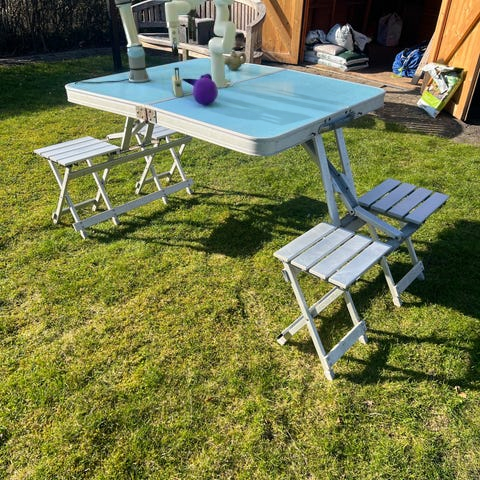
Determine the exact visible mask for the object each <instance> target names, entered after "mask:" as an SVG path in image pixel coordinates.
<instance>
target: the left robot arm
mask: <svg viewBox="0 0 480 480" xmlns="http://www.w3.org/2000/svg"><path fill="white" fill-rule="evenodd" d="M133 1H134V0H114V3H115V7H116V8H118V11H119V14H120V18H121V21H122V25H123V26H122V27H123V29H124V33H125V38H126V41H127V45H126V48H127V49H126V50H127V56H128V66H129V76H128V78H125V79H119V80H106V81H105V80H104V81H81V80H78V81H75V82H74V83H75V84H74V85H76V84H79V83H82V84H103V83H120V82H125V81H126V82H127V81H128V82H129V83H133V84H141V83H148V82H150V76H149V73H148V71H147V67H146V59H145V58H146V52H145V50H144V46H143V43H142V42H141V41H140V39H139V34H138V30H137V26H136V22H135V19H134V14H133V9H132V5H133ZM153 1H155V2H157V1H159V2H172V1H173V0H153ZM196 15H197V6H192V7H190V12H189V13H188V14H186V15H185V16H187V30H188V40H192V42H197V40H198V39H197V22H196V17H195V16H196Z"/></svg>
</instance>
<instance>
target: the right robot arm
mask: <svg viewBox="0 0 480 480" xmlns="http://www.w3.org/2000/svg"><path fill="white" fill-rule="evenodd" d="M235 1H236V0H212V2H213V4H214V6H215V9H216V14H215V20H214V26H213V33H214V34H215V35H216V36H217V37H212V38H210V40H209V41H208V45H207V46H208V52H209V57H210V75H211V76H212V81H214V82H215V84H216V86H217V89H223V88H227V87H228V83H231V82H232V80H231V79H226V67H225V66H226V65H225V61H224V58H225V57H224V55H228V54H230V53H232V51H233V48H234V44H235V39H236V33H237V27H236V24H235V23H234V22H233V21H231V20H230V10H229V7H228V6H231V5H233V4H234V3H235ZM205 2H207V0H173V1H165V3H164V10H165V11H164V12H165V21H166V23H165V24H166V28H167V29H168V32H169V33H168V34H169V40H170V41H169V42H170V45H171V54H172V56H173V57H179V56H180V55H179V46H180V36H179V29H180V20H179V15H180V16H187V15H186V14H188V13H189V12H190V7H192V6H196V7H197V6H200V5H202V4H204V3H205Z"/></svg>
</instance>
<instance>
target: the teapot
mask: <svg viewBox="0 0 480 480" xmlns="http://www.w3.org/2000/svg"><path fill="white" fill-rule="evenodd" d="M241 58H242V59H241ZM224 61H225V66H227V69H228V70H230V71H238V70H239V69H240V68H241V67H242V65H244V64H245V63H246V61H247V56H246V53H245V52H243V51H242V52H239V54H237V53H236V52H235V50H232V51H231V54H230V56H226V57H224Z"/></svg>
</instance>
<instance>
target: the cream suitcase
mask: <svg viewBox="0 0 480 480" xmlns="http://www.w3.org/2000/svg"><path fill="white" fill-rule="evenodd" d="M171 79H172V91H173V93H174V96H175V98H177V97H178V98H179V97H184V94H183V81H182V82H174V80H173V78H172V77H171Z"/></svg>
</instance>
